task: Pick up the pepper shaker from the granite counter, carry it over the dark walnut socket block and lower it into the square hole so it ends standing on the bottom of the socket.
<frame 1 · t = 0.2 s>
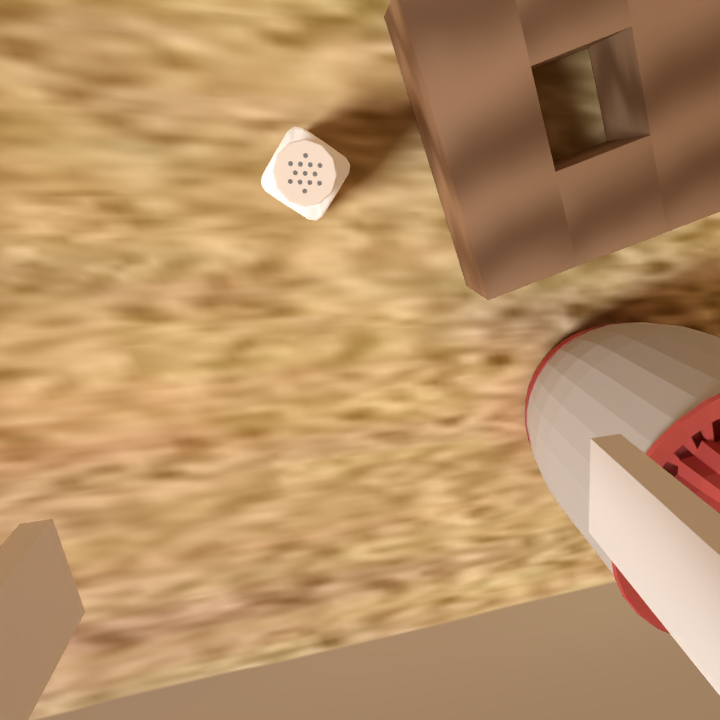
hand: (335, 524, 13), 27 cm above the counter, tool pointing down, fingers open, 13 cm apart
socket block: (555, 112, 36), on the counter
pepper shaker: (306, 176, 36), on the counter
citrus juicer: (593, 404, 43), on the counter
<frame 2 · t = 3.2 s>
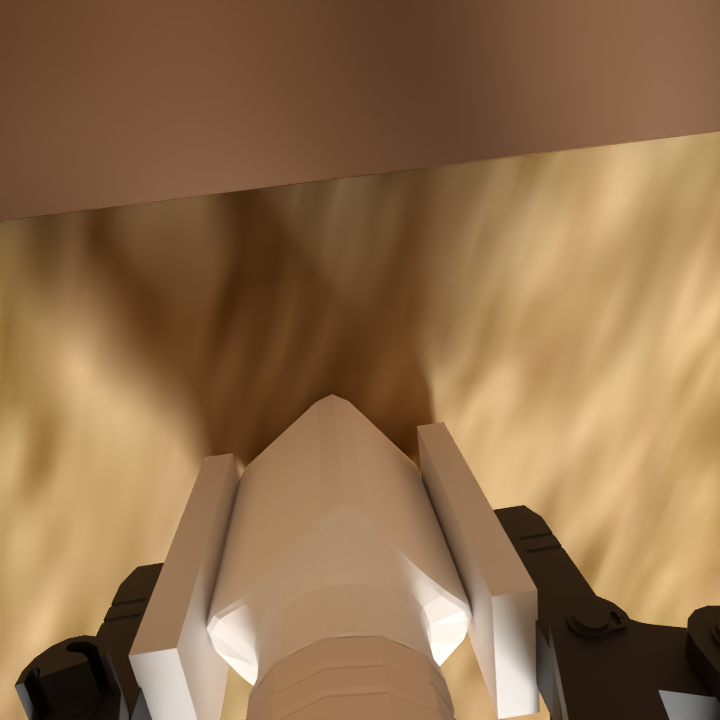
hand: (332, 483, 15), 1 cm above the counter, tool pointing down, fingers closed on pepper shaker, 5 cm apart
pepper shaker: (330, 465, 16), on the counter, touching gripper
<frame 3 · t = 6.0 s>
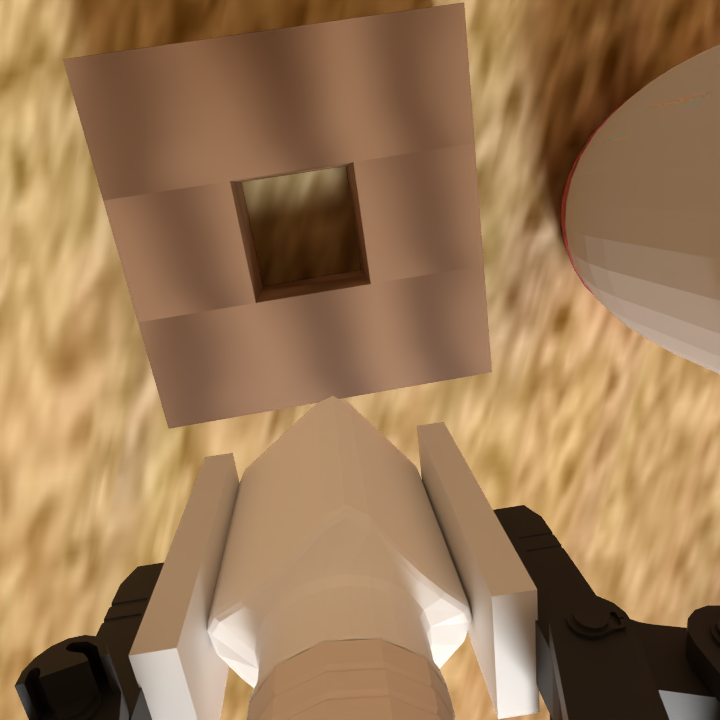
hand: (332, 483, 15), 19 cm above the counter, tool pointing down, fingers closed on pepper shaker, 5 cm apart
socket block: (303, 227, 32), on the counter
pepper shaker: (330, 467, 16), point 18 cm above the counter, touching gripper
citrus juicer: (660, 204, 34), on the counter
when the fingers open (7 cm above the counter, at t = 9.0 s): pepper shaker drops 6 cm, resting in socket block.
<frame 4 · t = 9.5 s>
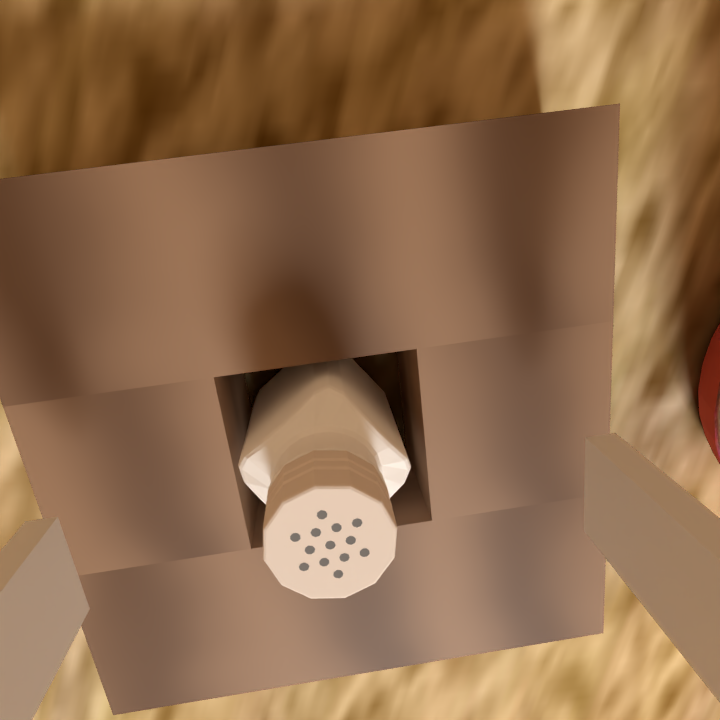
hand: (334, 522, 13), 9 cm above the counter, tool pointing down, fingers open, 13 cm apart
socket block: (325, 394, 22), on the counter
pepper shaker: (321, 393, 22), resting in socket block
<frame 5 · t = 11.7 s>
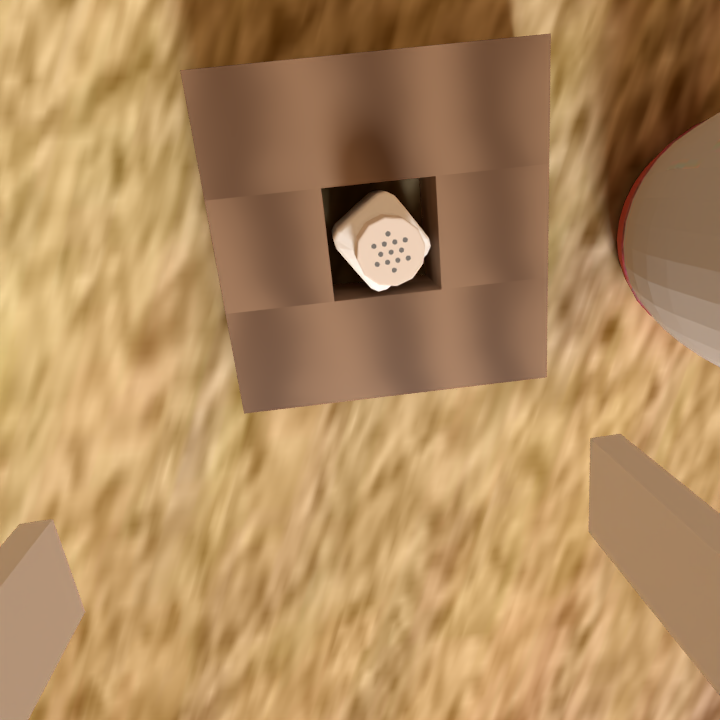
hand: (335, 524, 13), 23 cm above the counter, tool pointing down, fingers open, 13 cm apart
socket block: (374, 231, 34), on the counter
pepper shaker: (372, 232, 34), resting in socket block
citrus juicer: (711, 226, 35), on the counter
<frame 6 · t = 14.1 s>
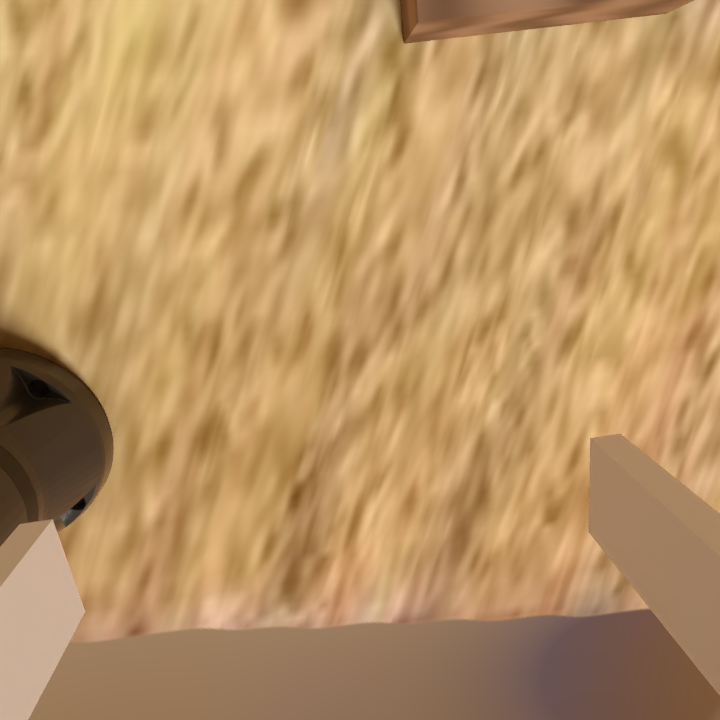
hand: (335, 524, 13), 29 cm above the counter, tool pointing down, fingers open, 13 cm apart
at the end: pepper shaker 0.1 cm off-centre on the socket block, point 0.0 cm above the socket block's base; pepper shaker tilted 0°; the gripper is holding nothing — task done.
